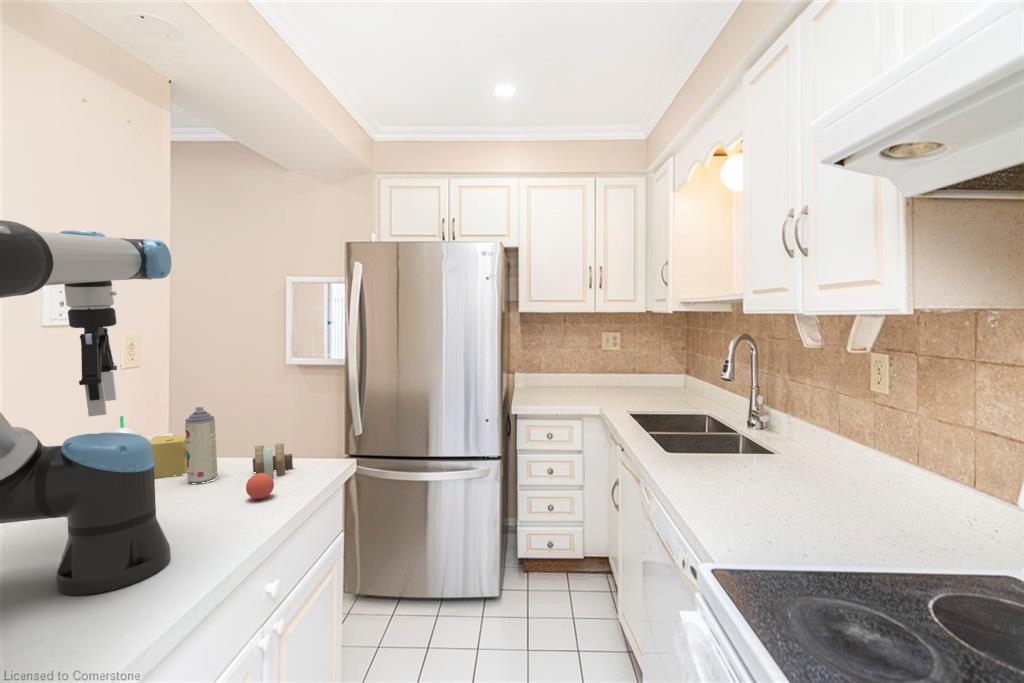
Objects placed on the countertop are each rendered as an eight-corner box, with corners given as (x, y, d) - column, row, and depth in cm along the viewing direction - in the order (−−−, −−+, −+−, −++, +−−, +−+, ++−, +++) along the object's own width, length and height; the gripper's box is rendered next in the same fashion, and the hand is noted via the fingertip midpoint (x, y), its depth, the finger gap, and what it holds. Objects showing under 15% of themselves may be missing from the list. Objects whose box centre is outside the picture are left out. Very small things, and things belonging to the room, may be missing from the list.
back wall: (292, 469, 142) (291, 455, 142) (253, 473, 139) (252, 459, 138) (292, 467, 144) (292, 453, 144) (254, 471, 141) (253, 457, 140)
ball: (272, 500, 117) (271, 475, 116) (244, 504, 115) (243, 479, 114) (275, 492, 122) (274, 468, 122) (248, 496, 120) (247, 471, 120)
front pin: (273, 480, 132) (271, 449, 132) (264, 481, 131) (262, 449, 131) (274, 478, 134) (272, 447, 134) (265, 479, 133) (263, 448, 133)
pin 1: (264, 477, 135) (263, 446, 134) (255, 478, 134) (254, 447, 133) (265, 475, 137) (264, 445, 136) (256, 476, 136) (255, 445, 136)
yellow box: (196, 465, 148) (194, 432, 148) (185, 476, 138) (183, 440, 138) (155, 470, 145) (153, 436, 145) (141, 481, 135) (138, 444, 134)
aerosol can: (191, 478, 136) (187, 406, 135) (219, 474, 138) (216, 403, 137) (185, 486, 129) (181, 410, 128) (215, 482, 132) (211, 407, 131)
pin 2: (284, 475, 136) (283, 445, 136) (275, 476, 135) (274, 445, 135) (285, 473, 138) (284, 443, 138) (276, 474, 138) (275, 444, 137)
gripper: (104, 310, 94) (117, 419, 97) (122, 303, 115) (132, 393, 118) (51, 312, 90) (66, 425, 93) (80, 304, 111) (91, 397, 114)
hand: (103, 407), depth 105 cm, fingers open, 13 cm apart
